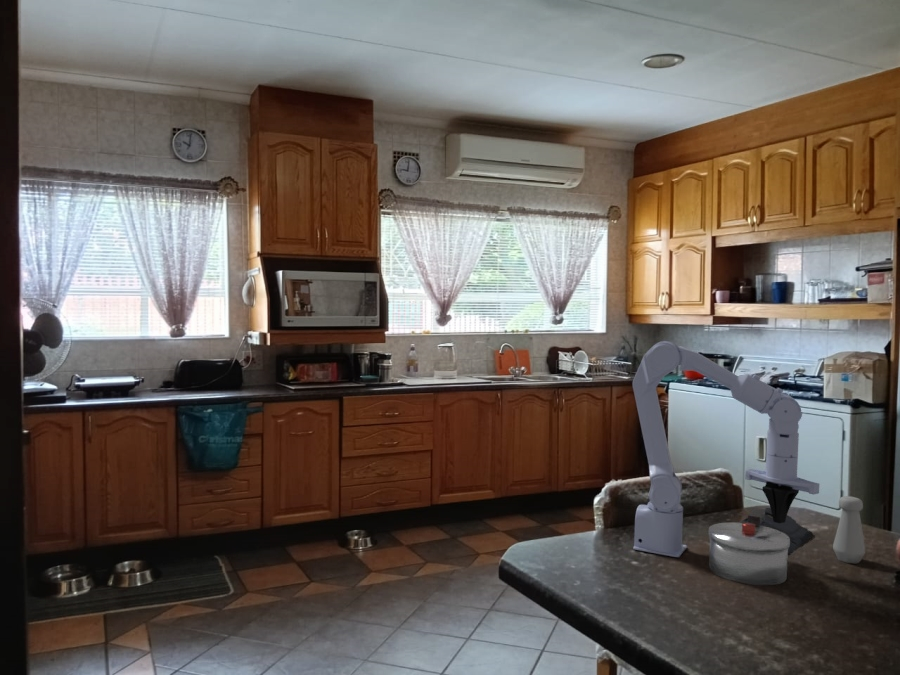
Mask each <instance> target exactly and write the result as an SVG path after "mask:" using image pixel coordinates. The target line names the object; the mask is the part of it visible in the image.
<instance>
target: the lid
mask: <svg viewBox="0 0 900 675" xmlns="http://www.w3.org/2000/svg"><path fill="white" fill-rule="evenodd" d="M765 509H766V508H765ZM765 509H763V508H757V507H753V508H752V510H751V511H750V512H749V514H748V515H747V518H748V523H741V522H721V523H720V522H718V523H714V524H712V525H710V526H709V527H708V537H709V540H710V539H712V540H713V541H715V542H717V543H719V544H721V545H724V546H727V547H731V548H735V549H740V550H745V551H753V552H779V551H784V550H786V549H788V548H789V547H790V538H789V536H787V535H786V534H785V533H783V532H781V531H778V530H775V529H772V528H769V527H765V526H761V524H762V522H763V521H764V519H765Z"/></svg>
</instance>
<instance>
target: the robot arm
mask: <svg viewBox="0 0 900 675" xmlns="http://www.w3.org/2000/svg"><path fill="white" fill-rule="evenodd" d="M678 366H680V367H679V371H680V372H681V371H683V372H690V371H692V372H697V373H698V374H700V375H702V376H704V377H706V378H708V379H710V380H711V381H714V382H716V383H718V384H720V385H722V386H724V387H725V388H727V389H729V390H730V393H731V396H732V398H733V399H734V400H735V401H737V402H740V403H741V404H743V405H745V406H747V407H748V408H751V409H752V410H754V411H756V412H758V413H760V414H762V415H763V414H766V415H767V416H768V417H769V418H768V430H767V434H766V435H767V436H766V458H765V460H766V461H765V463H766V464H765V470H758V469H754V468H750V469H746V470H745V472H744V473H745V475H744V476H745V477H744V478H745V480H749V481H754V482H755V481H757V482H760V483H764V484H765V485H764V486H762V492H763V493H764V495H765V498H766V500H767V501H768V505H769V508H771V512H772V516H773V521H774V522H776V523H783V522H785V520H786V516H787V515H788V514H789V510H790V507H791V505H792V503H793V501H794V499H796V497H797V495H799V492H803V493H805V492H806V493H808V494H810V495H817V494H820V483H818V482H814V481H810V480H807V479H804V478H801V477H798V462H799V461H798V460H799V459H798V457H799V440H800V439H799V438H800V437H799V436H800V435H799V432H798V431H799V427H800V425H799V422H800V420H801V419H802V417H803V411H802V409H801V408H802V407H801V405H800V404H799V402H798V401H797V400H796V399H795V398H793V396H790V394H788V393H786V392H785V393H784V392H783V389H782V388H780V387H776V388H775V387H773V386H771V385H769V384H767V383H765V381H762V380H761V377H760V376H759V375H757V374H756V373H755V374H753V376H752V375H751V374H748V373H744V374H742V375H738V374H736V373H733V372H731V371H730V370H728V369H727V368H725V367H723V366H722V365H719V364H718V363H716V362H715V361H713V360H711V359H709V358H708V357H706V356H704V355H703V354H702V353H701V354H700V353H699V352H697V351H694V350H692V349H689V348H687V347H685V346H681V345H677V344H676V343H674V342H673V341H671V340H670V341H669V340H661V341H659V342H656V343H655V344H654V345H653V346H651V348H650V349H649V350H647V351H646V353H644V354H643V356H642V359H641V362H640V364H639V366H638V368H637V371H636V372H635V375H634V378H633V379H632V390H633V394H634V398H635V403H636V408H637V409H636V410H637V414H638V418H639V423H640V428H641V434H642V438H643V443H644V448H645V453H646V457H647V463H648V470H649V471H648V472H649V479H650V480H649V481H650V488H649V490H648V491H649V492H648V499H649V501H648V502H647V504H639V505H638V506H637V508H636V511H635V518H634V539H633V540H634V543H633V545H634V546H633V550H636V551H640V552H647V553H653V554H655V555H656V554H657V555H661V556H669V557H673V558H680V557H681V556H682V554H683V553H684V552H685V550H686V549H687V548H688V547H687V544H683V523H684V522H683V520H684V519H683V518H684V514H683V513H684V506H683V505H682V504H681V500H682V494H681V493H682V490H683V484H682V482H681V480H680V479H679V477H678V476H677V474H676V473H675V470H674V465H673V462H672V460H671V454H670V450H669V445H668V439H667V436H666V429H665V425H664V420H663V416H662V415H663V414H662V411H661V406H660V401H659V396H658V392H657V387H658V385H659V384H660V383H661V382H662V380H663V378H664V377H666V376H667V375H668V374H670V373H671V372H673V371H674V370H675V369H676V368H677V367H678Z"/></svg>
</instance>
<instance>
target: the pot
mask: <svg viewBox="0 0 900 675" xmlns="http://www.w3.org/2000/svg"><path fill="white" fill-rule="evenodd" d="M708 556H709V558H708V569H709V570H710V571H711V572H712V573H714V574H715V575H717V576H719V577H721V578H723V579H726V580H729V581H731V582H732V581H733V582H734V583H735V582H736V583H740V584H745V585H753V586H774V585H780V584H783V583H785V582H786V580H787V575H788V574H787V573H788V556H789V555H788V549H786V550H784V551H779V552H753V551H745V550H740V549H735V548H731V547H727V546H724V545H721V544H719V543H717V542H715V541H713V540H712V539H710V538H709V555H708Z"/></svg>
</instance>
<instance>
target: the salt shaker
mask: <svg viewBox="0 0 900 675" xmlns="http://www.w3.org/2000/svg"><path fill="white" fill-rule="evenodd" d="M863 504H864V503H863V501H862V500H861V498H858V497H854V496H851V495H850V496H848V495H847V496H846V495H845V496H841V497H840V498H839V500H838V506H839V508H840V509H841V514H840V518H839V522H838V525H837V530H836V532H835V536H834V539H833V540H834V541H833V544H832V549H833V551H834V553H835V555H836V557H837V560H838V561H841V562H843V563H845V564H846V563H847V564H859V563H860V562H861V561H862V559H863V557H864V555H865V553H866V547H865V546H866V545H865V540H864V533H863V526H862V520H861V515H860V514H861V513H860V511H862V510H863V508H864V505H863Z"/></svg>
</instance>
